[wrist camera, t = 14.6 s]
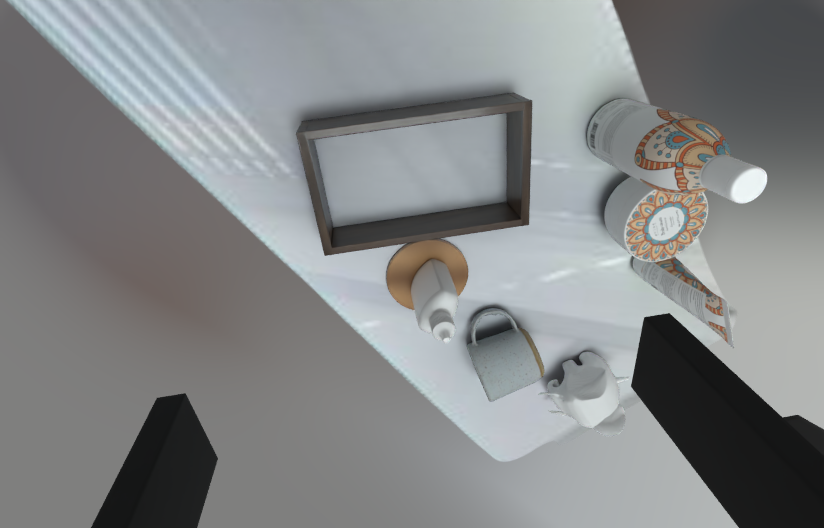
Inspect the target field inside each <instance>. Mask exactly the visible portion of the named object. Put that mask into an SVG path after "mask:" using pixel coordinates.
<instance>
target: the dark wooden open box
mask: <svg viewBox="0 0 824 528" xmlns="http://www.w3.org/2000/svg"><path fill="white" fill-rule="evenodd" d="M502 113H507V202H506V203H499V204H492V205H485V206H479V207H472V208H465V209H458V210H452V211H445V212H438V213H432V214H425V215H418V216H411V217H405V218H398V219H391V220H384V221H378V222H371V223H364V224H357V225H351V226H344V227H337V228H333V226H332V221H331V217H330V212H329V207H328V203H327V198H326V194H325V189H324V184H323V180H322V175H321V170H320V166H319V161H318V156H317V152H316V147H315V142H314V139H320V138H327V137H334V136H342V135H349V134H356V133H364V132H371V131H378V130H385V129H393V128H400V127H407V126H415V125H422V124H429V123H436V122H444V121H451V120H458V119H466V118H473V117H480V116H487V115H495V114H502ZM531 130H532V100H529V99H526V98H524V97H522V96H520V95H518V94H515V93H509V94H501V95H494V96H487V97H479V98H472V99H464V100H457V101H450V102H442V103H435V104H427V105H420V106H412V107H405V108H398V109H390V110H383V111H375V112H368V113H361V114H353V115H346V116H338V117H331V118H323V119H316V120H310V121H302V123H301V125H300V127H299V129H298V131H297V132H296V135H297V139H298V144H299V148H300V152H301V157H302V161H303V165H304V169H305V174H306V178H307V182H308V187H309V191H310V195H311V199H312V204H313V208H314V212H315V216H316V221H317V225H318V229H319V234H320V238H321V242H322V246H323V251H324V255H325V256H326V255H333V254H339V253H346V252H352V251H359V250H365V249H372V248H379V247H385V246H392V245H398V244H405V243H412V242H418V241H425V240H431V239H438V238H445V237H451V236H458V235H464V234H471V233H478V232H484V231H491V230H497V229H504V228H511V227H517V226H524V225H529V205H530V167H531Z"/></svg>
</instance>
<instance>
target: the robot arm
mask: <svg viewBox="0 0 824 528" xmlns="http://www.w3.org/2000/svg"><path fill="white" fill-rule="evenodd" d="M631 387H632V388H633V390H634V391H635V392H636V394H637V395H638V396H639V397H640V399H641V400H642V401H643V403H644V404H645V405H646V407H647V408H648V409H649V411H650V412H651V413H652V414H653V416H654V417H655V418H656V420H657V421H658V422H659V424H660V425H661V426H662V427H663V429H664V430H665V431H666V433H667V434H668V435H669V437H670V438H671V439H672V441H673V442H674V443H675V444H676V446H677V447H678V448H679V450H680V451H681V452H682V454H683V455H684V456H685V458H686V459H687V460H688V461H689V463H690V464H691V466H692V467H693V468H694V469H695V471H696V472H697V473H698V475H699V476H700V477H701V479H702V480H703V481H704V483H705V484H706V485H707V486H708V488H709V489H710V490H711V492H712V493H713V494H714V496H715V497H716V498H717V499H718V501H719V502H720V503H721V505H722V506H723V507H724V509H725V510H726V511H727V513H728V514H729V515H730V517H731V518H732V519H733V520H734V522H735V523H736V524H737V526H738V527H739V528H824V429H822V428H820V427H818V426H817V425H815V424H813V423H811V422H809V421H808V420H806V419H804V418H802V417H801V416H799V415H794V416H789V417H783V418H782V417H781V416H780V415H779V414H778V413H777V412H776V411H775V410H774V409H773V408H772V407H770V406H769V405H768V404H767V403H766V402H765V401H764V400H763V399H762V398H761V397H760V396H759V395H757V394H756V393H755V392H754V391H753V390H752V389H751V388H750V387H749V386H748V385H747V384H745V383H744V382H743V381H742V380H741V379H740V378H739V377H738V376H737V375H736V374H735V373H734V372H732V371H731V370H730V369H729V368H728V367H727V366H726V365H725V364H724V363H722V361H721V360H720V359H718V358H717V357H716V356H715V355H714V354H713V353H712V352H711V351H710V350H709V349H708V348H707V347H705V346H704V345H703V344H702V343H701V342H700V341H699V340H698V339H697V338H696V337H695V336H694V335H692V334H691V333H690V332H689V331H688V330H687V329H686V328H685V327H684V326H683V325H682V324H681V323H679V322H678V321H677V320H676V319H675V318H674V317H673V316H672V315H671V314H670V313H668V314H662V315H656V316H650V317H644V321H643V326H642V332H641V337H640V342H639V348H638V353H637V358H636V363H635V369H634V374H633V379H632V384H631ZM217 460H218V458H217V456H216V454H215V452H214V450H213V448H212V446H211V444H210V441H209V439H208V437H207V436H206V433H205V432H204V429H203V427H202V426H201V424H200V421H199V420H198V418H197V415H196V414H195V411H194V410H193V407H192V406H191V404H190V401H189V399H188V398H187V395H186V394H178V395H173V396H166V397H160V398H157V399H156V401H155V403H154V405H153V407H152V409H151V411H150V413H149V415H148V417H147V419H146V421H145V423H144V425H143V427H142V429H141V431H140V433H139V435H138V436H137V438H136V440H135V442H134V445H133V446H132V448H131V451H130V452H129V454H128V456H127V458H126V460H125V462H124V464H123V466H122V468H121V470H120V472H119V474H118V476H117V478H116V480H115V482H114V484H113V486H112V488H111V490H110V492H109V493H108V495H107V497H106V499H105V501H104V503H103V506H102V507H101V509H100V511H99V513H98V515H97V517H96V519H95V521H94V523H93V525H92V527H91V528H197V526H198V523H199V519H200V516H201V513H202V510H203V506H204V503H205V499H206V496H207V493H208V490H209V486H210V483H211V479H212V476H213V473H214V470H215V466H216V462H217Z"/></svg>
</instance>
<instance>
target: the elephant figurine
mask: <svg viewBox="0 0 824 528" xmlns="http://www.w3.org/2000/svg"><path fill="white" fill-rule="evenodd" d="M579 360H580V362H581V363H582V364H583V365H581V366H578V365H577V364H576V363H575V362H574V361H573V360H568V361H566V362H564V363H563V369H564V371H565V376H564V380H563V382H562V383H561V385H560V383H559V381H558V380H556V379H555V380H552V381H550V382H549V383H548V386H547V389H548V392H545V393H540V394H539V395H546V394H549V395H550V397H551V399H552V400H553V402H554V404H555V405H556V407H557V408H558V409H559V410H561V411H549V412H552V413H555V414H558V415H563V416H566V415H568V416H570V417H572V418H573V419H574V420H575V421H576V422H577V423H578V424H580V425H582V426H585V427H591V428H593V429H594V430H595V431H597V432H598V433H600V434H602V435H605V436H615V435H618V434H619V433H620V432H621V431H622V430H623V428H624V425H625V412H624V409H623V407H622V406H621V405H619V404H618V403H619V397H620V391H619V387H618V383H620V382H623V381H625V380H627V379H629V377H617V378H616V377H615V376H614V374H613V373H612V371H611V369H610V367H609V365H608V364H607V363H606V361H605V360H604V359H602V358H601V357H600V356H598V355H596V354H594V353H592V352H583V353H581V355H580V356H579Z"/></svg>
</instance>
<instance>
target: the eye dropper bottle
mask: <svg viewBox="0 0 824 528" xmlns="http://www.w3.org/2000/svg"><path fill="white" fill-rule="evenodd" d="M411 296H412V301H413V305H414V310H415V314H416V319H417V322H418V326H419V328H420V329H421V330H423V331H425V332H427V333H431V334H432V335H433V336H434V338H435V339H437V340H440V341H443V342H444V343H449V342H450V338H452V337H453V336H454V334H455V331H456V328H455V325H454V322H453V317H454V315H455V313H456V310H457V306H458V294H457V291H456V288H455V286H454V283H453V281H452V278H451V275H450V273H449V270H448V268H447V265H446V264H445V263H443V262H441V261H438V260H436V259H430V260H429V261H427V262H426V263H425V264H424V265H423V266H422V267H421V268H420V269H419V270H418V271H417V273H416V275H415V277H414V279H413V281H412V285H411Z"/></svg>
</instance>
